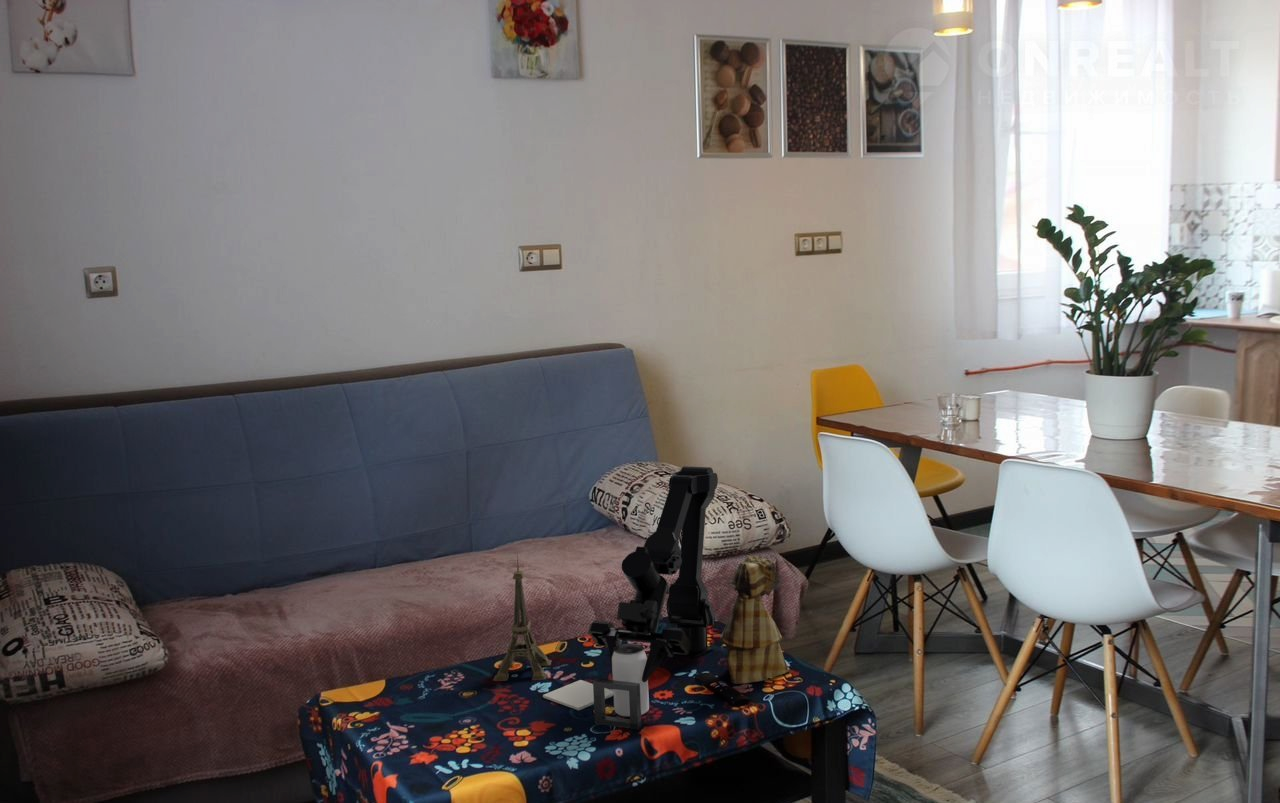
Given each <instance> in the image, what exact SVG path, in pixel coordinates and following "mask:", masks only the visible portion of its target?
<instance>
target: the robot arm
mask: <svg viewBox="0 0 1280 803" xmlns="http://www.w3.org/2000/svg"><path fill="white" fill-rule="evenodd" d="M671 474H672V475H671V476H670V478H669V480H668V492H667V496H666V498H665V501H664V505H663V508H662V510H661V514H660V517H659V520H658V525H657V527H656V529H655V531H654V532H653V533H652V534H651V535H649V536H648V537H647V538H646V540H645V541H644V544H643V546H639V545H638V546H636V548H635V551H632V552H631V553H628V554H627V556H625V558H623V560H622V562H621V571H622V572H623V574H624V575H625V578H626V579H627V580H628V582H629V584H630V586H631V587H632V588H633V590H635V593H634V598H633V599H630V601H629V602H624V601H623V602H622V601H621V602H620V601H619V602H618V606H617V614H616V620H618V621H620V620H621V625H622V626H623V627H626V628H625V629H618V628H616V627H615V626H614V624H613V622H612V621H604V620H594V621H593V622H592V623H590V625H589V628H588V632H587V633H588V634H589V636H590V638H591V639H592V640H593V642H594V643H595V644H596V645H597V646H598V647H599V646H600V647H607V649H608V652H609V653H608V654H609V661H610V676H611V678H612V679H613V674H612V656H613V653H614V648H615V647H616V646H618V645H622V644H623V643H622V642H623V641H625V642H626V641H627V642H636V643H647V644H650V645H649V651H648V652H649V653H648V655H647V662H646V665H645V668H644V672H643V677H642V681H643V682H646V681H647V680H648V681H649V679H650V678H651V676H652V675H653V673H654V672H655V671H656V670H657V669H658V668H659V667H660V666H661V665H662V664H663V663H664V662H665V661H666V660H667V659H668V658H672V657H674V655H676V654H677V655H682V656H686V657H690V658H697V657H700V656H702V655H705V654H707V653H709V652H711V651H714V646H713V647H712V646H709V644H708V627H712V626H714V625H715V609H714V608H713V606H712V604H711V602H710V601H709V598H708V594H709V592H708V589H707V587H706V585H705V583H704V581H703V579H702V569H703V567H702V566H703V556H704V555H703V554H704V541H705V540H704V539H705V528H706V526H705V524H706V513H707V512H706V511H707V508H708V507H709V505H710V504H711V503H712V501H713V500H714V499H715V494H716V489H717V487H718V483H719V479H718V478H719V477H718V473H716V472H714V470H713V468H712V467H711V466H710V467H709V466H688V465H687V466H686V465H684V466H682V467H681V469H680V470H678V471H675V472H672V473H671ZM680 537H681V540H680ZM679 540H680V544H679ZM677 572H678V577H677V578H676V579H675V581H674V582H673V583H671V584H670V586H669V583H668V581H667V580H666V578H665V577H664V576H665V575H666V576H673V575H676V574H677ZM663 575H664V576H663ZM667 595H668V597H667ZM666 597H667V600H666ZM665 600H666V606H665V607H666V614H667V618H668V623H669V625H675V626H676V627H670V626H664V627H663V629H662V631H661V632H658V627H659V623H660V622H662V621H663V617H664V616H663V614H662V611H663V608H664V604H665Z"/></svg>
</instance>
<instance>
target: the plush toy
mask: <svg viewBox="0 0 1280 803" xmlns="http://www.w3.org/2000/svg"><path fill="white" fill-rule="evenodd" d="M738 564H739V565H738V566H737V568H736V570H735V572H734V575H733V578H732V580H731V581H729V582H728V583H727V585H733V586H734V587H733V590H734V592H737V594H738V595H737V596H736V600H735V602H734V603H733V607H732V609H731V612H730V615H729V617H728V620H727V623H726V624H725V626H724V628H723V631H722V633H721V634H720V636H719V640H720V641H721V642H722V643H723V644H724V646H726V647H727V649H728V650H727V655H726V656H727V658H726V666H727V669H728V672H729V676H730V683H731V684H734V685H737V684H740V685H743V684H748V683H754V682H755V683H756V682H763V681H766V680H769V679H768V678H770V679H772V678H771V677H773V678H775V677H777V676H781V675H783V674H787V673H788V672H790V667H788V665H787V662H786V659H785V658H784V654H783V652H782V648H781V645H780V641H781V640H783V635H781V632H780V631H779V628H778V626H777V624H776V622H775V621H774V619H773V617H772V616H771V614H770V613H769V611H768V610H767V609H766V606H765V605H764V602H763V600H762V597H763V596H765V595H767V596H768V597H770V595H771V593H772V591H777V592H778V591H779V587H780V586H781V582H782V581H781V579H780V578H781V577H782V575H781V574H780V575H779V572H777V571H776V569H777V567H776V563H774V562H773V561H772V560H771V559H768V558H764V557H762V555H759V556H757V555H746V558H745V559H744V560H742V561H740V563H738Z"/></svg>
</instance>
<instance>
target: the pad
mask: <svg viewBox="0 0 1280 803" xmlns="http://www.w3.org/2000/svg"><path fill="white" fill-rule="evenodd" d="M604 691H605V700H607V699H608V698H612V697H614V695H613V689H610V688H604ZM542 698H543V699H545V700H549V701H552V702H554V703H557V704H560V705H563V706H565V707H568V708H571V709H574V710H576V711H580V710H583V709H585V708H587V707H590V706H594V693H593V682H592V683H591V682H588V681H586V680H582V679H579V680H576V681H574V682H572V683H569V684H567V685H565V686H561V687H560V688H557V689H554V690H552V691H549V692H547V693H544V694H543V695H542Z"/></svg>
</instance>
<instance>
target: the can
mask: <svg viewBox="0 0 1280 803" xmlns="http://www.w3.org/2000/svg"><path fill="white" fill-rule="evenodd" d="M647 659H648V655H647V654H646V652H645V647H644V646H643V645H641V644H638V643H624V644H623V643H621V645H618V646H616V647H615V648H614V653H613V656H612V674H613V678H612V680H616V681H624V682H632V683H640V702H641V716H643V715H645V714H647V713H648V711H649V709H650V700H649V679H648V680H647V681H646V682H643V681H642V677H643V672H644V668H645V665H646V662H647ZM612 690H613V695H614V696H613V708H614V709H613V710H614V712H615V713H616V714H617V715H618V716H620V717H622V718H623V717H624V718H630V704H629V691H626V690H618V689H612Z"/></svg>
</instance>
